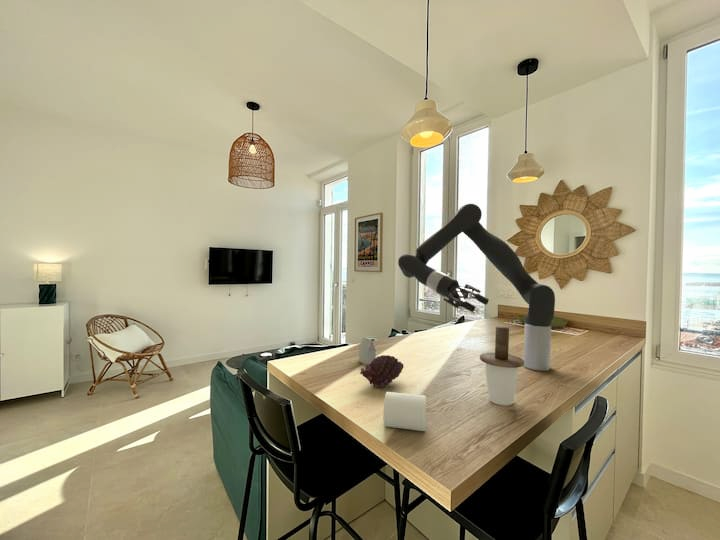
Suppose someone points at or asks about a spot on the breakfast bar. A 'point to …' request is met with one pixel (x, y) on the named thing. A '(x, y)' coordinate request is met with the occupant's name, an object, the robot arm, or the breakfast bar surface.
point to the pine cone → (382, 370)
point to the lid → (502, 351)
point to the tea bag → (366, 351)
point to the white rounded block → (405, 411)
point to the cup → (501, 384)
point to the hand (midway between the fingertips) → (481, 305)
